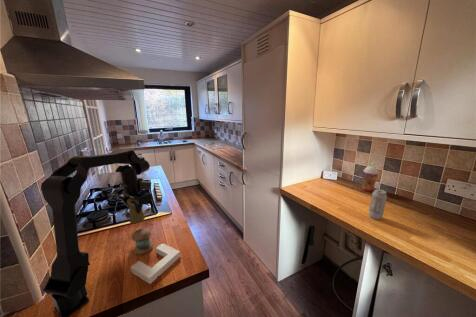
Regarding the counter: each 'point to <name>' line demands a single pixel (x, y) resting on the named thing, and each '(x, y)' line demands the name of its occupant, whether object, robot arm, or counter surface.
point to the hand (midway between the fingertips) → (135, 211)
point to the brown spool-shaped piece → (142, 241)
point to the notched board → (152, 273)
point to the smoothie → (369, 178)
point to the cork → (134, 213)
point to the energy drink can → (377, 204)
